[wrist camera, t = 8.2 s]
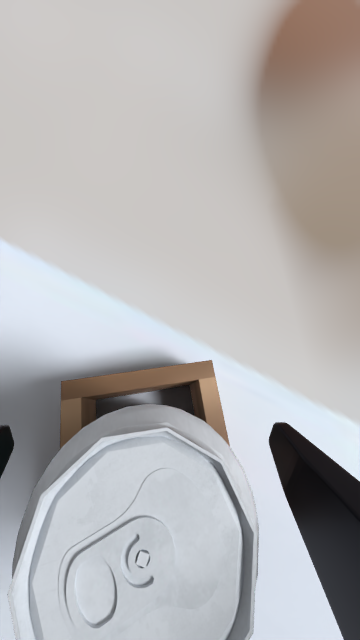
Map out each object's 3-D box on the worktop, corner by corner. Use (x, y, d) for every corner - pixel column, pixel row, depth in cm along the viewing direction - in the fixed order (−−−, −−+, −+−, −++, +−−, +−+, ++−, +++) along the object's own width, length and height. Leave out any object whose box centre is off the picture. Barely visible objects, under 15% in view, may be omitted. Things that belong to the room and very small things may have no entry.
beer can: (198, 465, 15) (343, 640, 4) (127, 508, 14) (18, 968, 2) (167, 394, 16) (202, 363, 5) (100, 427, 15) (-50, 484, 4)
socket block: (226, 507, 14) (248, 536, 11) (81, 543, 13) (57, 590, 9) (200, 369, 17) (211, 360, 14) (80, 387, 16) (61, 381, 12)
